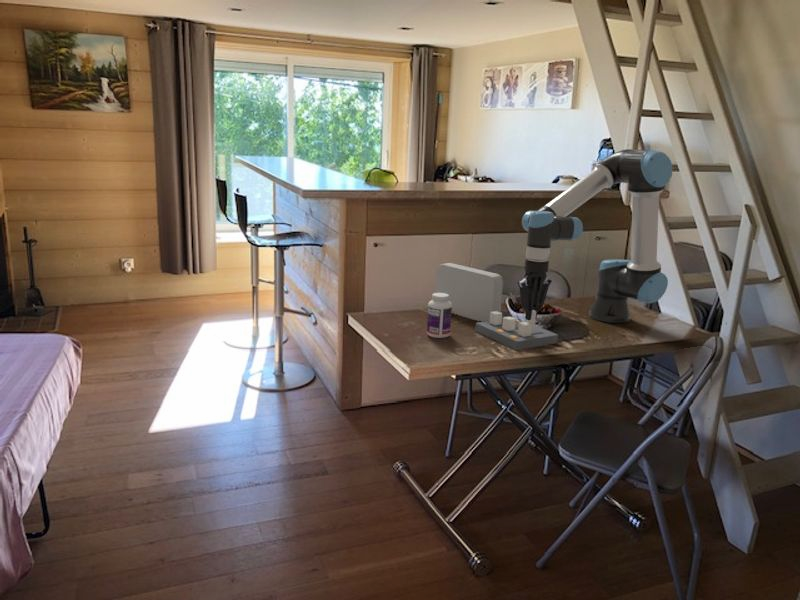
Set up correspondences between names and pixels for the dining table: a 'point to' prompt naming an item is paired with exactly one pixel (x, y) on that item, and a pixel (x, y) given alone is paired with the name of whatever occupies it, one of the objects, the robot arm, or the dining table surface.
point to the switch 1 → (495, 318)
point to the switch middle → (508, 323)
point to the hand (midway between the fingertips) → (529, 328)
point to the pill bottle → (439, 316)
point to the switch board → (517, 335)
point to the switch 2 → (524, 329)
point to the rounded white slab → (470, 290)
